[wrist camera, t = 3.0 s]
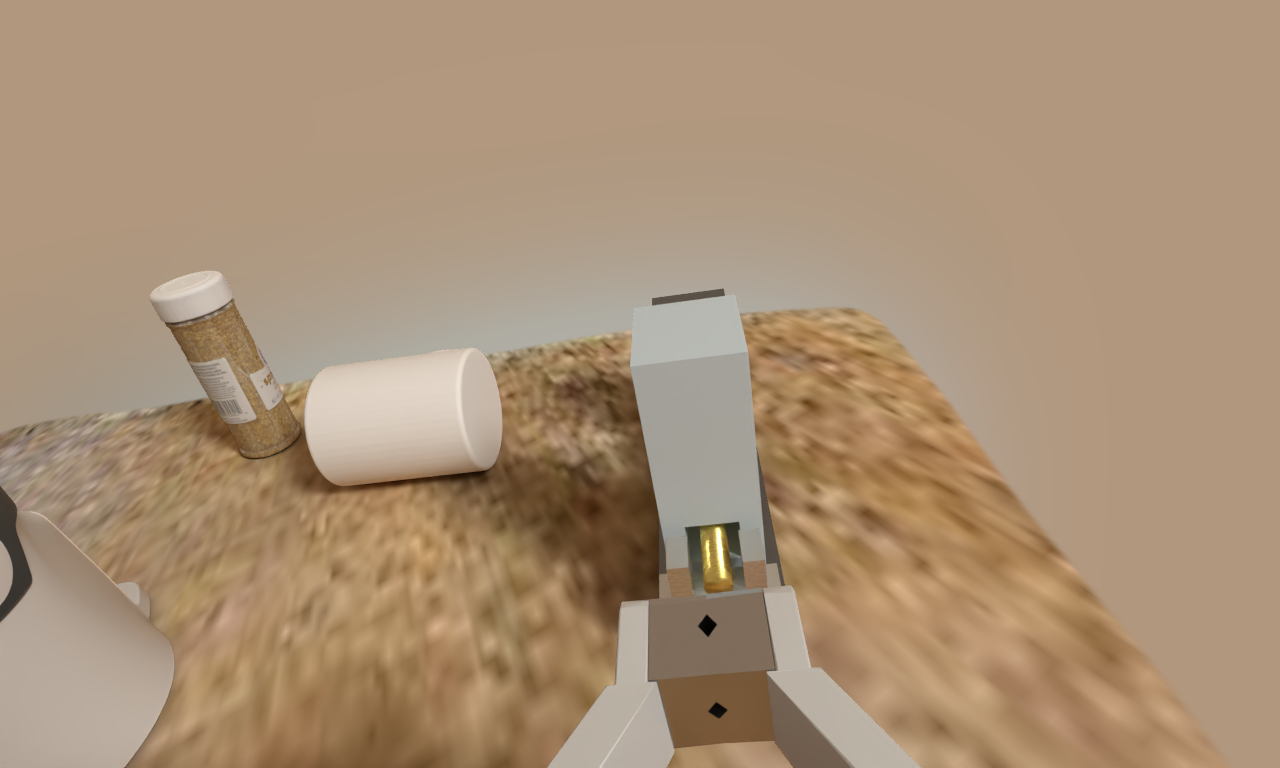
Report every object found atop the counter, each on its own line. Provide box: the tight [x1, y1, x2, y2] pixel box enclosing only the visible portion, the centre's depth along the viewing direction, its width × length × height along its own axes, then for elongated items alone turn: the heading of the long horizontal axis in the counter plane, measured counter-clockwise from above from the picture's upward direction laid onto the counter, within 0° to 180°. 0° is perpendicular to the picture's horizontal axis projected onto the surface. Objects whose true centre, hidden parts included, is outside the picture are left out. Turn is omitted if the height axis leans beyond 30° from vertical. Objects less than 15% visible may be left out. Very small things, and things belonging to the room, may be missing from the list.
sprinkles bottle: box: [149, 271, 301, 458], centre depth 49 cm, size 5×5×13 cm
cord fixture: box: [652, 289, 785, 599], centre depth 36 cm, size 6×19×9 cm, turn 179°
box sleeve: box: [630, 295, 766, 571], centre depth 31 cm, size 4×5×12 cm
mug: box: [304, 348, 502, 486], centre depth 47 cm, size 12×10×8 cm
